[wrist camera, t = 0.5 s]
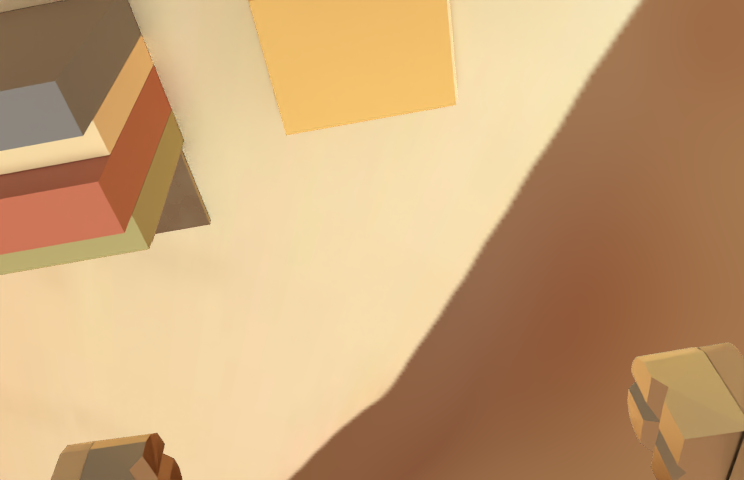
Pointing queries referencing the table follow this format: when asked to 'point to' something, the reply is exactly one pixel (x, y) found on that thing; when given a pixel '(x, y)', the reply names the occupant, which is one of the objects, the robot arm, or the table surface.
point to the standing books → (80, 135)
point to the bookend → (182, 202)
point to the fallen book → (356, 59)
